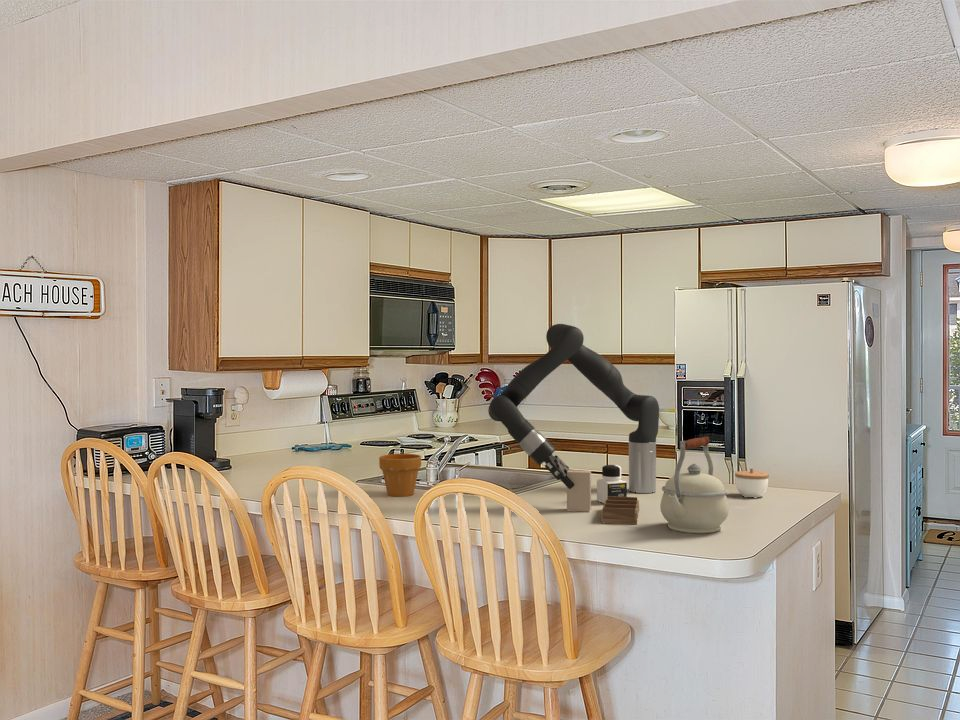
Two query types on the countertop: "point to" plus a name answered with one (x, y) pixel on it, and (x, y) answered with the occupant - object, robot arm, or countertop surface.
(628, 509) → the rack
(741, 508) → the countertop surface
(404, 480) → the flower pot
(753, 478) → the lidded jar
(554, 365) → the robot arm
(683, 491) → the kettle
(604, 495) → the medicine bottle
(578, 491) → the tall beige block
